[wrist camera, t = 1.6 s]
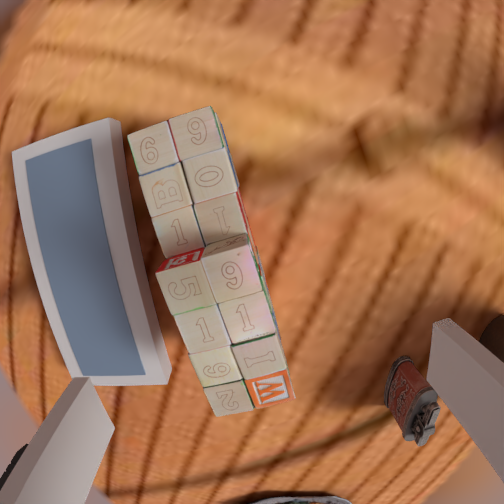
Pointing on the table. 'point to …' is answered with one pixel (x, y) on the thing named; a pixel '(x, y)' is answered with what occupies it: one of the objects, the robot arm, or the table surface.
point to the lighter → (411, 401)
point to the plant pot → (494, 338)
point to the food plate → (302, 500)
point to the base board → (90, 255)
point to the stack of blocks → (211, 263)
